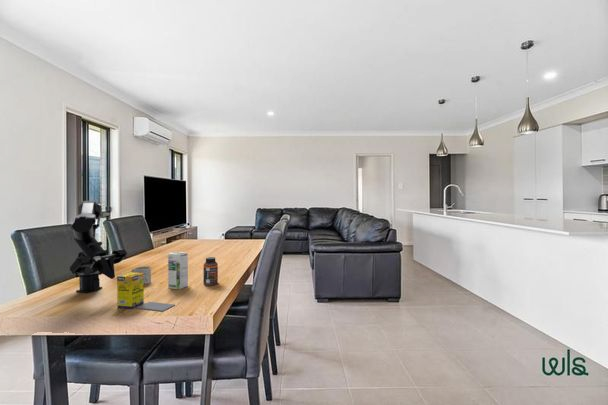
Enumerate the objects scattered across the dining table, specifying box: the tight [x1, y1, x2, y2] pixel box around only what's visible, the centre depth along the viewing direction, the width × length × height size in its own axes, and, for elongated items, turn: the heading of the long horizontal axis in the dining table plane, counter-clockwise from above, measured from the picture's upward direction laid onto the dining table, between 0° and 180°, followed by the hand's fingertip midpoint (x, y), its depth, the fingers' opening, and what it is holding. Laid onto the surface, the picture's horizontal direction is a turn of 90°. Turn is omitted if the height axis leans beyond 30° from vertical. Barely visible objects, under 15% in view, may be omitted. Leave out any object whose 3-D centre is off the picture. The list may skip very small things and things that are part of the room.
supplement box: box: [116, 272, 145, 310], centre depth 110 cm, size 6×6×11 cm
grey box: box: [131, 265, 152, 286], centre depth 140 cm, size 10×7×7 cm
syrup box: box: [167, 251, 189, 290], centre depth 132 cm, size 6×6×14 cm
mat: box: [135, 301, 176, 313], centre depth 109 cm, size 11×6×1 cm, turn 73°
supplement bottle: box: [202, 256, 219, 286], centre depth 137 cm, size 6×6×11 cm
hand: (113, 278), depth 112 cm, fingers closed
